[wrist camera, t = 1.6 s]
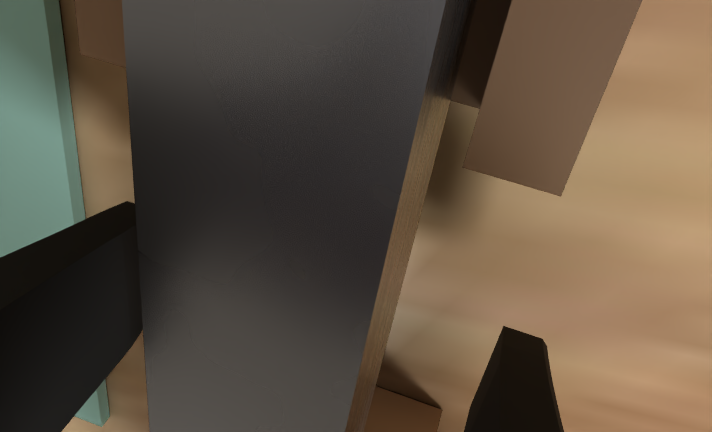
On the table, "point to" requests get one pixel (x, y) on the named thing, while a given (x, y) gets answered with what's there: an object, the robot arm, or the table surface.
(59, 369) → the robot arm
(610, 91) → the table surface
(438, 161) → the table surface
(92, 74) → the table surface
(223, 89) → the rail
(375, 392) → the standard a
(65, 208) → the mat
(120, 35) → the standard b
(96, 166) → the table surface
